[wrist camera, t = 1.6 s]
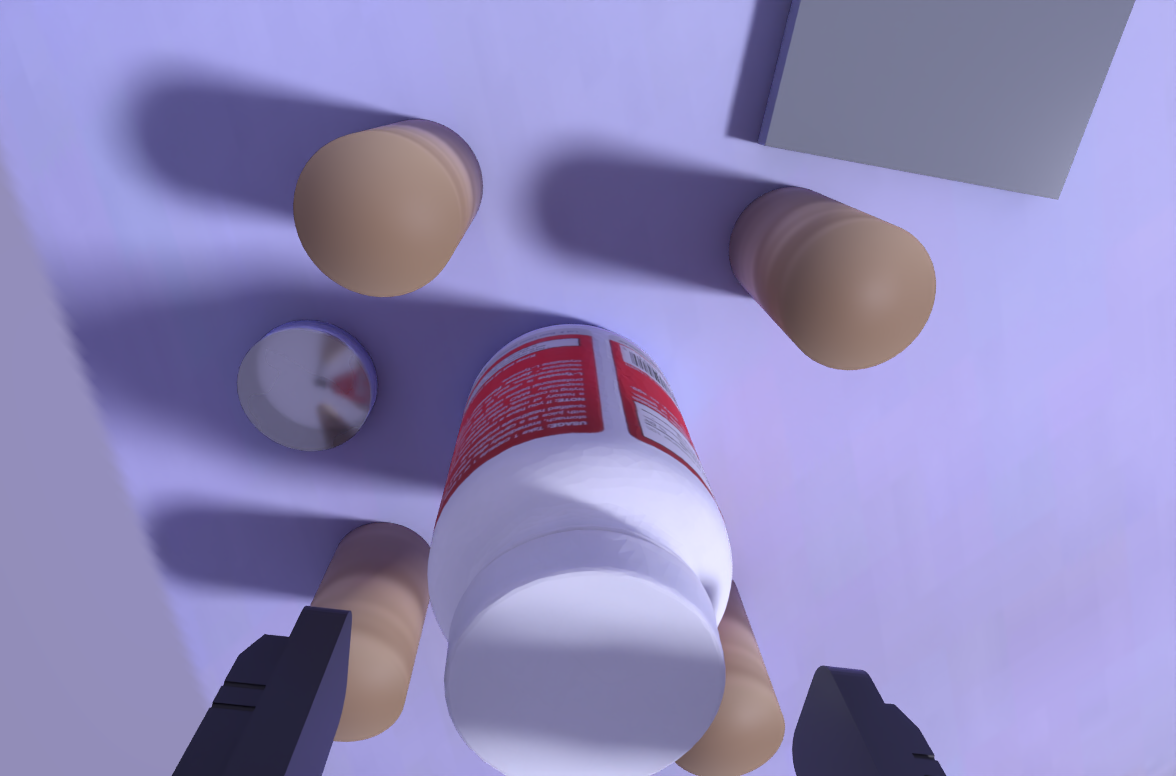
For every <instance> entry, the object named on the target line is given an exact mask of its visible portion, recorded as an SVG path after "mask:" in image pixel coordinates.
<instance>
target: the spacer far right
mask: <svg viewBox="0 0 1176 776" xmlns="http://www.w3.org/2000/svg"><path fill="white" fill-rule="evenodd" d="M717 628H718V632H719V637H720V641H721V645H722V649H723V653H724V660H725V688H724V694H723V698H722V701H721V704H720V707H719V710H718V712H717V714H716V716H715V718H714V720H713V722H712V723H711V725H710V726H709V728H708V730H707V731H706V732H705V733H704V735H703V736H702V737H701V739H700V740H699V741H698V742H697V743H696V744H695V745H694V746H693V747H692V748H691V749H690V750H689V751H688V752H686V753H685V754H684V755H683V756H682V757H680V758H679V759H678V760H677V761H675V763H677V764H678V765H679V766H680V767H681V768H683V769H684V770H686V771H688V772H690V773H692V774H695V775H698V776H740V775H743V774H746V773H748V772H751V771H753V770H755V769H757V768H758V767H760V766H762V765H763V764H764V763H766V762H767V761H768V760H769V759H770V758H771V757H772V756H773V755H774V754H775V753H776V751H777V750H778V748H779V747H780V745H781V742H782V740H783V737H784V732H785V723H784V718H783V715H782V712H781V709H780V706H779V703H778V701H777V698H776V695H775V692H774V690H773V687H772V684H771V681H770V678H769V676H768V673H767V670H766V667H765V665H764V662H763V659H762V656H761V653H760V651H759V648H758V645H757V642H756V640H755V637H754V634H753V631H752V628H751V626H750V623H749V620H748V617H747V615H746V612H745V609H744V606H743V604H742V601H741V598H740V595H739V592H738V590H737V587H736V585H735V583H734V581H733V580H732V582H731V589H730V594H729V598H728V602H727V606H726V609H725V612H724V614H723V616H722V619H721V621H720V623H719V625H718V627H717Z"/></svg>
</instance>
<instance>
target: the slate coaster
mask: <svg viewBox="0 0 1176 776" xmlns="http://www.w3.org/2000/svg"><path fill="white" fill-rule="evenodd" d="M1134 3H1135V0H792V3H791V7H790V11H789V15H788V19H787V23H786V27H785V32H784V36H783V40H782V44H781V48H780V52H779V56H778V60H777V64H776V69H775V73H774V77H773V81H772V85H771V89H770V93H769V97H768V101H767V106H766V110H765V114H764V118H763V122H762V126H761V130H760V134H759V138H758V144H762V145H765V146H770V147H776V148H781V149H787V150H792V151H797V152H803V153H808V154H814V155H819V156H824V157H830V158H835V159H841V160H846V161H851V162H857V163H862V164H868V165H873V166H878V167H884V168H889V169H895V170H900V171H905V172H911V173H916V174H922V175H927V176H932V177H938V178H943V179H949V180H954V181H960V182H965V183H970V184H976V185H981V186H987V187H992V188H997V189H1003V190H1008V191H1014V192H1019V193H1024V194H1030V195H1035V196H1041V197H1046V198H1051V199H1057V200H1058V199H1059V196H1060V193H1061V191H1062V188H1063V186H1064V183H1065V181H1066V178H1067V175H1068V173H1069V170H1070V168H1071V165H1072V163H1073V160H1074V157H1075V155H1076V152H1077V150H1078V147H1079V144H1080V142H1081V139H1082V137H1083V134H1084V132H1085V129H1086V126H1087V124H1088V121H1089V119H1090V116H1091V114H1092V111H1093V108H1094V106H1095V103H1096V101H1097V98H1098V95H1099V93H1100V90H1101V88H1102V85H1103V83H1104V80H1105V77H1106V75H1107V72H1108V70H1109V67H1110V65H1111V62H1112V59H1113V57H1114V54H1115V52H1116V49H1117V46H1118V44H1119V41H1120V39H1121V36H1122V34H1123V31H1124V28H1125V26H1126V23H1127V21H1128V18H1129V16H1130V13H1131V10H1132V8H1133V5H1134Z"/></svg>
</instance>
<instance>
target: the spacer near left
mask: <svg viewBox="0 0 1176 776" xmlns="http://www.w3.org/2000/svg"><path fill="white" fill-rule="evenodd" d="M482 193H483V181H482V174H481V169H480V166H479V163H478V161H477V159H476V157H475V154H474V153H473V151H472V150H471V148H470V147H469V145H468V144H467V143H466V142H465V141H464V140H463V139H462V138H461V137H460V136H459V135H458V134H457V133H455V132H454V131H453V130H451V129H449V128H448V127H446V126H444V125H442V124H439V123H436V122H433V121H429V120H422V119H411V120H405V121H400V122H396V123H392V124H388V125H384V126H380V127H376V128H372V129H368V130H364V131H360V132H356V133H352V134H349V135H346V136H342V137H339V138H337V139H335V140H333V141H331V142H329V143H328V144H326V145H325V146H323V147H322V148H320V149H319V150H318V151H317V152H316V153H315V154H314V155H313V156H312V157H311V158H310V160H309V161H308V162H307V163H306V165H305V167H304V169H303V170H302V172H301V174H300V176H299V179H298V181H297V185H296V189H295V193H294V202H293V212H294V220H295V226H296V230H297V233H298V236H299V239H300V241H301V243H302V245H303V247H304V249H305V251H306V252H307V254H308V256H309V257H310V259H311V260H312V261H313V262H314V264H315V265H316V266H317V267H318V268H319V269H320V270H321V271H322V272H323V273H324V274H325V275H326V276H328V277H329V278H330V279H331V280H333V281H334V282H336V283H337V284H339V285H340V286H342V287H345V288H347V289H349V290H351V291H354V292H357V293H359V294H363V295H368V296H375V297H393V296H399V295H404V294H407V293H410V292H413V291H415V290H417V289H419V288H421V287H423V286H424V285H426V284H428V283H429V282H430V281H431V280H433V279H434V278H435V277H436V276H437V275H438V274H439V273H440V272H441V271H442V270H443V268H444V267H445V265H446V264H447V262H448V261H449V259H450V258H451V256H452V254H453V253H454V251H455V249H456V247H457V246H458V244H459V242H460V241H461V239H462V237H463V236H464V234H465V232H466V231H467V229H468V227H469V226H470V224H471V222H472V221H473V219H474V217H475V215H476V213H477V211H478V209H479V206H480V203H481V199H482Z"/></svg>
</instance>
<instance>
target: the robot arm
mask: <svg viewBox="0 0 1176 776" xmlns="http://www.w3.org/2000/svg"><path fill="white" fill-rule="evenodd" d="M351 628H352V612H351V611H349V610H340V609H331V608H322V607H313V606H305V607H304V608H303V610H302V612H301V614H300V616H299V618H298V620H297V622H296V624H295V626H294V628H293V630H292V632H291V634H290V637H285V636H276V635H266V634H264V635H263V636H262V637H261V638H259V639H258V640H257V641H256V642H254V643H253V644H252V645H251V646H249V647H248V648H247V649H246V650H245V651H243V652H242V653H241V654H240V655H239V656H238V657H237V659H236V661H235V663H234V665H233V666H232V668H231V670H230V672H229V674H228V675H227V677H226V679H225V681H224V685H223V686H221V688H220V690H219V692H218V693H217V695H216V697H215V699H214V701H213V704H212V707H211V708H209V710H208V711H207V713H206V715H205V717H204V719H203V720H202V722H201V724H200V726H199V728H198V730H197V731H196V733H195V735H194V737H193V738H192V740H191V742H190V744H189V746H188V747H187V749H186V751H185V753H184V755H183V756H182V758H181V760H180V762H179V764H178V766H177V767H176V769H175V771H174V773H173V774H172V776H322V773H323V770H324V767H325V764H326V761H327V758H328V755H329V752H330V749H331V746H332V743H333V740H334V737H335V734H336V731H337V728H338V725H339V722H340V718H341V714H342V710H343V705H344V700H345V695H346V688H347V677H348V665H349V652H350V640H351ZM792 754H793V763H794V768H795V772H796V775H797V776H946V774H945V773H944V771H943V769H942V768H941V766H940V764H939V762H938V761H936V760H935V759H934V754H933V752H932V750H931V749H930V747H929V745H928V743H927V742H926V740H925V738H924V736H923V735H922V733H921V731H920V729H919V728H918V727H917V726H916V725H915V724H914V723H913V722H912V721H911V720H910V719H909V718H908V717H907V716H906V715H905V714H904V713H903V712H902V711H901V710H900V709H899V708H897V707H896V706H895V705H894V704H885V703H884V701H883V699H882V698H881V696H880V694H879V692H878V690H877V688H876V687H875V685H874V683H873V681H872V679H871V677H870V676H869V674H868V673H867V672H865V671H863V670H857V669H848V668H839V667H830V666H820V667H819V668H818V669H817V670H816V672H815V674H814V677H813V679H812V682H811V685H810V688H809V691H808V694H807V697H806V700H805V703H804V706H803V709H802V712H801V714H800V717H799V720H798V723H797V726H796V729H795V732H794V737H793V746H792Z"/></svg>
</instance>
